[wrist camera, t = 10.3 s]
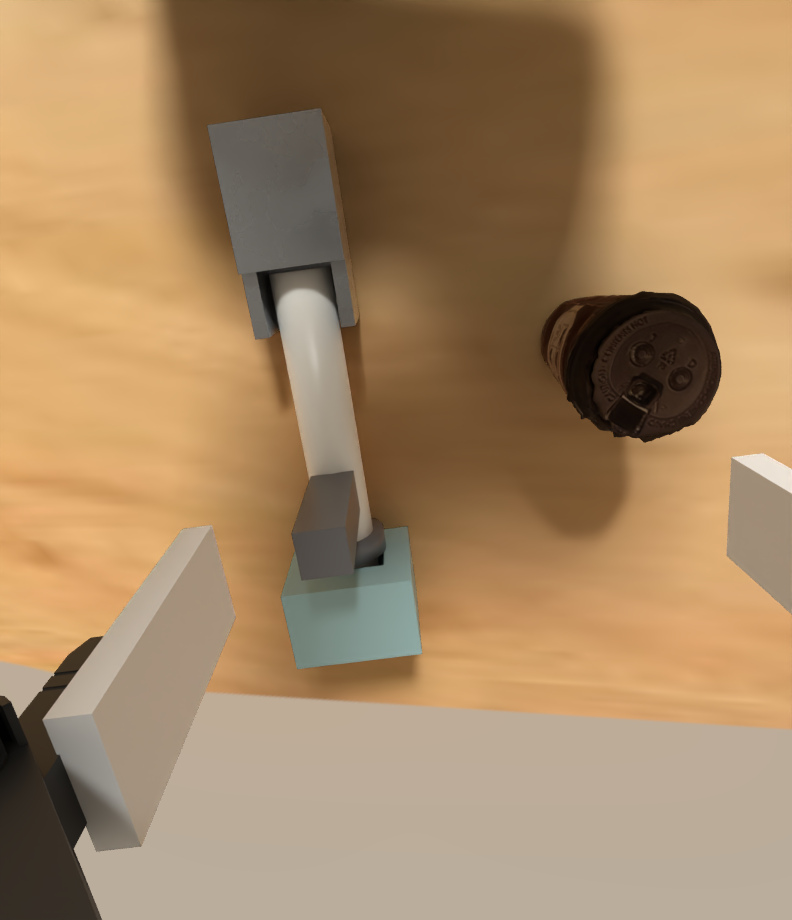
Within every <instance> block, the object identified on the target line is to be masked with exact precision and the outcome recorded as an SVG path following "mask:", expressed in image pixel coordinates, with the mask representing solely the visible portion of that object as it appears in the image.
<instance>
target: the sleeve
mask: <svg viewBox="0 0 792 920" xmlns="http://www.w3.org/2000/svg"><path fill="white" fill-rule="evenodd" d="M207 128H208V133H209V137H210V142H211V147H212V152H213V156H214V161H215V166H216V170H217V175H218V180H219V185H220V189H221V194H222V199H223V204H224V208H225V213H226V218H227V222H228V227H229V232H230V237H231V241H232V246H233V251H234V256H235V260H236V265H237V270H238V274H242V279H243V283H244V288H245V293H246V298H247V302H248V307H249V312H250V317H251V321H252V326H253V331H254V336H255V340H256V339H263V338H270V337H271V336H272V335H274V334H275V333H276V332H278V331H279V330H280V329H279V324H278V319H277V314H276V308H275V303H274V298H273V293H272V288H271V283H270V278H269V274H275V273H281V272H288V271H295V270H302V269H309V268H316V267H323V266H330V268H331V274H332V280H333V286H334V292H335V298H336V305H337V311H338V317H339V320H340V323H341V328H342V327H349V326H355V325H356V323H357V321H358V318H359V310H358V304H357V297H356V290H355V284H354V277H353V271H352V264H351V257H350V251H349V244H348V238H347V231H346V225H345V218H344V211H343V205H342V198H341V192H340V185H339V178H338V172H337V165H336V159H335V152H334V145H333V139H332V132H331V129H330V127H329V125H328V122H327V120H326V118H325V116H324V114H323V112H322V110H321V108H318V109H311V110H304V111H298V112H291V113H285V114H278V115H271V116H265V117H258V118H251V119H245V120H238V121H232V122H225V123H218V124H212V125H207Z"/></svg>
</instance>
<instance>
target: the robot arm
mask: <svg viewBox="0 0 792 920" xmlns="http://www.w3.org/2000/svg"><path fill="white" fill-rule="evenodd" d="M727 557H729V558H730V559H731V560H732V561H733V562H734V563H735V564H736V565H737V566H739V567H740V568H741V569H742V570H743V571H744V572H745V573H746V574H747V575H749V576H750V577H751V578H752V579H753V580H754V581H755V582H756V583H757V584H759V585H760V586H761V587H762V588H763V589H764V590H765V591H766V592H767V593H769V594H770V595H771V596H772V597H773V598H774V599H775V600H776V601H777V602H779V603H780V604H781V605H782V606H783V607H784V608H785V609H786V610H787V611H789V612H790V613H791V614H792V469H791V468H789V467H787V466H785V465H783V464H782V463H780V462H778V461H776V460H774V459H772V458H770V457H769V456H767V455H765V454H763V453H761V454H753V455H746V456H738V457H731V477H730V496H729V516H728V536H727ZM235 618H236V616H235V612H234V608H233V604H232V600H231V596H230V592H229V589H228V585H227V581H226V577H225V573H224V569H223V565H222V562H221V558H220V554H219V550H218V546H217V542H216V538H215V535H214V531H213V527H212V525H208V526H200V527H193V528H185V529H182V530H181V532H180V533H179V534H178V536H177V537H176V538H175V540H174V541H173V542H172V544H171V545H170V547H169V548H168V549H167V551H166V552H165V553H164V555H163V556H162V557H161V559H160V560H159V562H158V563H157V564H156V566H155V567H154V568H153V570H152V571H151V572H150V574H149V575H148V577H147V578H146V579H145V581H144V582H143V583H142V585H141V586H140V587H139V589H138V590H137V592H136V593H135V594H134V596H133V597H132V598H131V600H130V601H129V602H128V604H127V605H126V607H125V608H124V609H123V611H122V612H121V613H120V615H119V616H118V617H117V619H116V620H115V622H114V623H113V624H112V626H111V627H110V628H109V630H108V631H107V632H106V634H105V635H104V636H101V637H93V638H90V639H88V640H87V641H86V642H85V643H83V644H82V645H81V646H79V647H78V648H77V649H75V650H74V651H73V652H72V653H70V654H69V655H68V656H67V657H66V659H65V660H64V661H63V662H62V664H61V665H60V666H59V668H58V669H57V670H56V671H55V673H54V674H55V675H54V676H52V677H51V678H50V679H49V680H48V682H47V683H46V684H45V685H44V687H43V691H42V692H39V693H38V694H37V696H36V697H35V698H34V700H33V701H32V702H31V703H30V705H29V706H28V707H27V708H26V710H25V711H24V712H23V713H22V715H21V716H20V717H19V718H17V715H16V713H15V710H14V708H13V706H12V703H11V702H10V701H9V700H8V699H7V698H6V697H5V696H0V920H102V919H101V916H100V914H99V911H98V908H97V906H96V903H95V901H94V899H93V896H92V893H91V891H90V888H89V886H88V883H87V881H86V878H85V876H84V874H83V871H82V868H81V866H80V863H79V861H78V859H77V856H76V854H75V852H74V847H75V845H76V843H77V841H78V839H79V837H80V835H81V834H82V832H83V830H84V828H85V826H86V827H87V830H88V832H89V835H90V837H91V840H92V842H93V845H94V847H95V850H96V851H105V850H114V849H123V848H132V847H141V846H142V844H143V841H144V839H145V836H146V834H147V831H148V829H149V827H150V824H151V822H152V819H153V817H154V815H155V812H156V810H157V807H158V805H159V802H160V800H161V797H162V795H163V793H164V790H165V787H166V785H167V783H168V781H169V778H170V776H171V773H172V771H173V768H174V766H175V764H176V761H177V759H178V756H179V754H180V751H181V749H182V747H183V744H184V742H185V739H186V737H187V734H188V732H189V729H190V727H191V725H192V722H193V720H194V717H195V715H196V713H197V710H198V708H199V705H200V703H201V700H202V698H203V696H204V693H205V691H206V688H207V686H208V683H209V681H210V679H211V676H212V674H213V671H214V669H215V667H216V664H217V662H218V659H219V657H220V654H221V652H222V650H223V647H224V645H225V642H226V640H227V637H228V635H229V633H230V630H231V628H232V625H233V623H234V620H235Z"/></svg>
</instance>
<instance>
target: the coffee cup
mask: <svg viewBox="0 0 792 920" xmlns="http://www.w3.org/2000/svg"><path fill="white" fill-rule="evenodd" d="M541 351H542V355H543V358H544V361H545V362H546V363H547V365H548V366H549V367H550V369H551V371H552V373H553V375H554V377H555V378H556V379H557V381H558V382H559V384H560V385H561V386H562V388H563V390H564V391H565V393H566V394H567V400H568V401H569V402H572V404H573V406H574V408H576V410H577V411H578V413H579V414H580V415H581V419H584V418H588V419H589V420H591V422H592V423H593V424H594V425H596V427H597V428H598V429H600V430H604V431H611V432H613V434H614V437H625V436H630V437H632V438H640V439H641V440H642V441H643V442H648V441H652V440H654V439H656V438H660V437H662V436H665V435H668V434H669V435H671V434H672V433H674V432H676V431H677V432H678V431H680V430H681V429H683V428H684V427H688V426H690V425H694V424H695V423H696V422H697V421H698V420H699V419H700V418H701V416H702V415H703V414H704V413H705V412H706V411H707V409H708V407H709V406H710V404H711V401H712V400H713V398H714V396H715V394H716V391H717V389H718V386H719V382H720V378H721V359H720V352H719V349H718V346H717V343H716V340H715V337H714V334H713V332H712V328H711V326H710V324H709V323H708V321H707V319H706V318H705V317H704V315H703V314H702V313H701V311H700V310H699V309H698V307H696V306H695V305H693V304H692V303H690V302H689V301H688V300H686V299H684V298H683V297H681V296H679V295H676V294H674V293H654V292H645V291H642V292H639V293H637V294H634V295H619V296H617V295H611V296H593V297H585V298H577V299H573V300H570V301H566V302H564V303H563V304H561V305H560V306H559V307H558V308H557V309H556V310H555V311H554V312H553V313H552V314H551V316H550V317H549V318H548V319H547V321H546V323H545V325H544V328H543V331H542V338H541Z"/></svg>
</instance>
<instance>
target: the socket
mask: <svg viewBox="0 0 792 920" xmlns="http://www.w3.org/2000/svg"><path fill="white" fill-rule="evenodd" d="M384 534H385V540H386V549H385V551H384V552H383V553H382V554H381V555H380V556H379V557H378V562H379V566H373V567H365V568H357V569H354V574H351V575H343V576H335V577H327V578H319V579H311V580H303V581H301V576H300V572H299V567H298V562H297V557H296V553H295V552H294V555H293V559H292V562H291V565H290V568H289V572H288V575H287V578H286V581H285V585H284V588H283V591H282V594H281V600H282V605H283V609H284V613H285V618H286V622H287V627H288V631H289V635H290V640H291V644H292V649H293V653H294V657H295V662H296V666H297V669H303V668H311V667H319V666H327V665H336V664H344V663H352V662H360V661H368V660H377V659H385V658H393V657H401V656H409V655H418V654H422V647H421V636H420V624H419V613H418V601H417V590H416V583H415V576H414V569H413V562H412V555H411V548H410V540H409V533H408V526H406V527H398V528H391V529H384Z"/></svg>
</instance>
